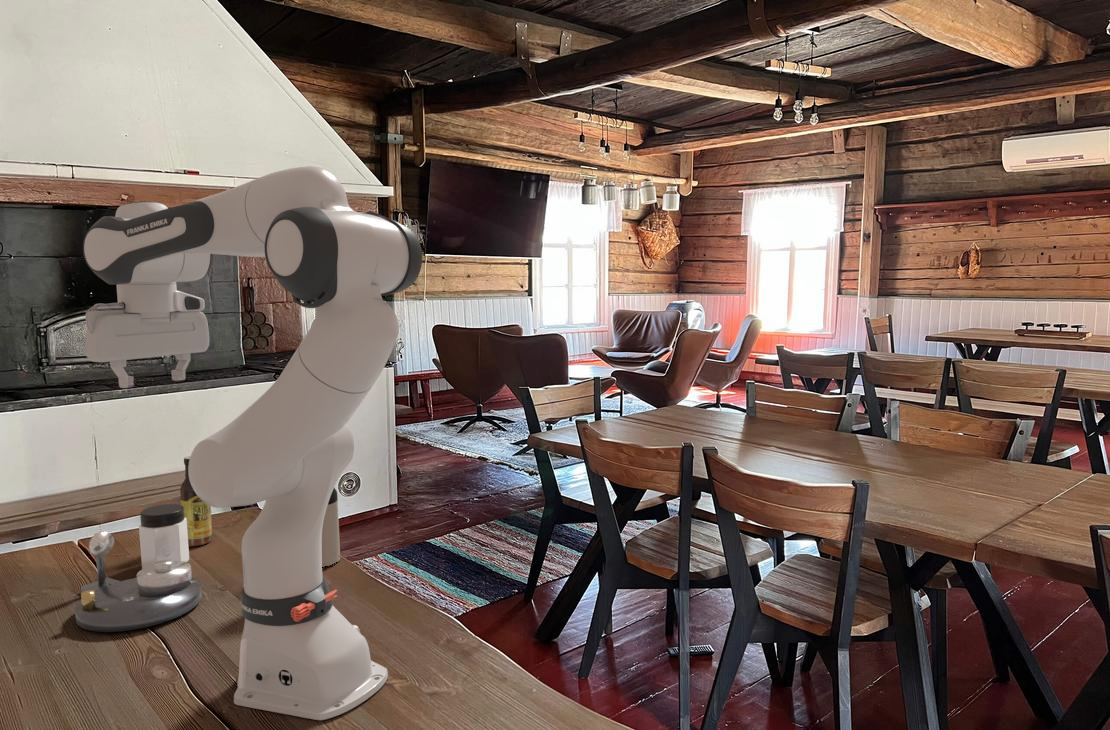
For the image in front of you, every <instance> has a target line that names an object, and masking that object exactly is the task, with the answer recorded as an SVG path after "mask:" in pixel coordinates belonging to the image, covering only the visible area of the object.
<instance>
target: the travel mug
mask: <svg viewBox="0 0 1110 730" xmlns="http://www.w3.org/2000/svg"><path fill="white" fill-rule="evenodd" d="M338 500H339V499H338V491H337V490H336V488H335V487H334V489H333V491H332V494H331V496H330V499H329V502H328V505H327V509H326V513H325V516H324V521H323V528H322V567H323V566H328V565H331V564H333V565H335V564H337V563H338V562H339V561H340V560H341V549H340V548H341V545H340V543H341V542H340V526H339V525H340V524H339V523H340V521H339V503H338ZM334 553H335V554H334ZM338 555H339V556H340V557H339V556H338ZM336 562H337V563H336ZM334 563H335V564H334ZM331 566H332V565H331ZM328 567H329V566H328ZM323 568H324V567H323Z"/></svg>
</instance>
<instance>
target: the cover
mask: <svg viewBox="0 0 1110 730" xmlns="http://www.w3.org/2000/svg"><path fill="white" fill-rule="evenodd" d="M192 574H193V573H192V565H191V564H190V563H189V562H188V561H187V562H183V561H172V560H169V559H167V560H161V561H158V562H156V563H155V564H154V565H151V566H148V567H146V568H144V569H142V568H141V570H139V571H138V572H137V574H136V578H137V584H138V592H139V593H140V594H142V595H147V596H157V595H165V594H169V593H173V592H177V591H179V590H182V589H184V588H186V587H188V586H189V585H190V584H191V583H192V578H193V575H192Z"/></svg>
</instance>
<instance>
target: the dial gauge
mask: <svg viewBox="0 0 1110 730" xmlns="http://www.w3.org/2000/svg"><path fill="white" fill-rule="evenodd" d="M113 547H115V537H114V535H113V534H112V533H111V532H107V531H99V532H96V533H95V534H93V536H92V537H91V538H90V540H89V542H88V548H89V551H90V553H91V554H93V555H95V558H96V569H97V571H96V573H97V580H95V581H92V582H90V583H88V584H85V585H81V593H82V592H84V591H87V590H94V591H95V590H98V589H100V588H102V587H105V586H108V585H110V584H114V583H117V582H120V581H121V580H118V579H114V578H110V577H106V574H105V573H106V571H105V559H104V556H105V555H107V554H108V553H110V552H111V551H112V550H113Z"/></svg>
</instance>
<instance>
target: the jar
mask: <svg viewBox="0 0 1110 730" xmlns="http://www.w3.org/2000/svg"><path fill="white" fill-rule="evenodd" d="M139 515H140V516H139V518H140V525H139V526H138V533H139V544H140V558H141V560H140V561H141V570H142V569H144V568H146V567H148V566H151V565H154V564H155V563H156V562H158V561H161V560H167V559H169V560H172V561H183V562H187V563H188V562H189V561H190V550H189V547H190V546H188V532H187V518H185V517H184V507H183V506H182V505H180V504H175V503H173V504H172V503H167V504H166V503H165V504H159V505H154V506H150V507H146V508H144V509H142V510H141V511H140V514H139Z"/></svg>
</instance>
